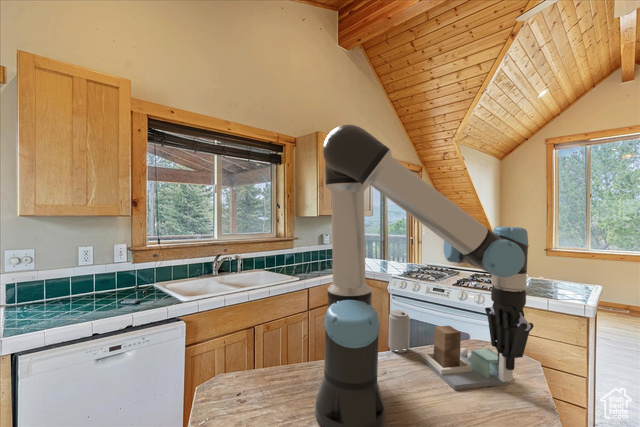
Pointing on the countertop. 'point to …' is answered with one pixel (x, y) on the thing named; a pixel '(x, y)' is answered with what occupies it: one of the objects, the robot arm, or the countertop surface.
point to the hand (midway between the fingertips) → (505, 379)
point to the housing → (484, 361)
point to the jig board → (462, 372)
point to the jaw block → (447, 346)
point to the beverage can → (398, 331)
